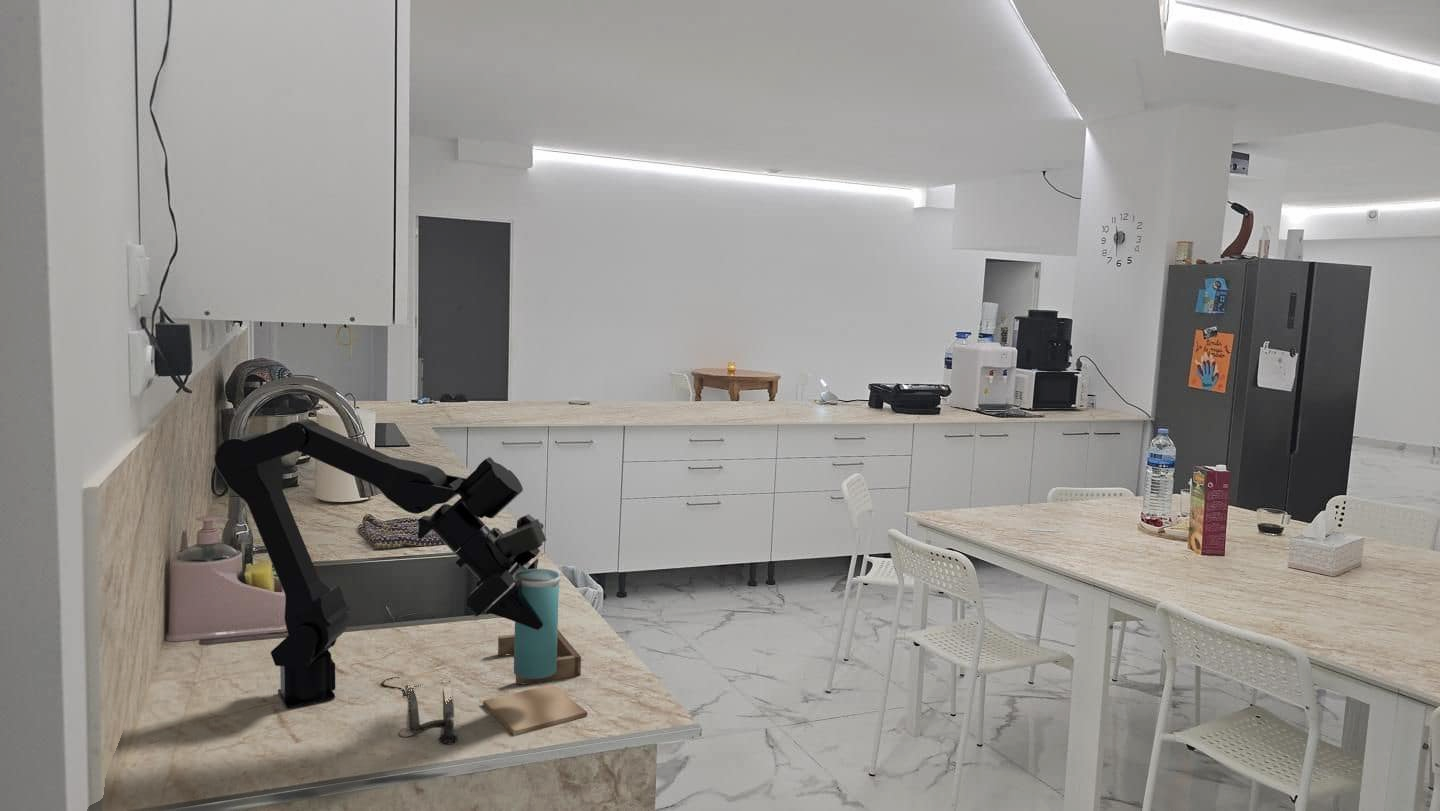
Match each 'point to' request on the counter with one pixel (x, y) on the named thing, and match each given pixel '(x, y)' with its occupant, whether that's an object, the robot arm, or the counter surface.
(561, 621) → the counter surface
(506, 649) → the cubby
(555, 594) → the tin
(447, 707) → the hacksaw
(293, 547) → the robot arm
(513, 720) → the mat
